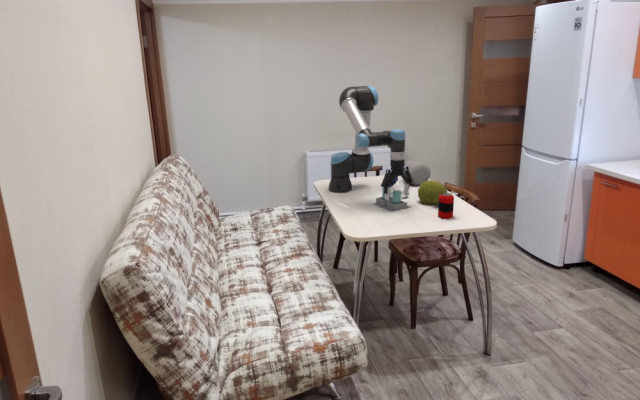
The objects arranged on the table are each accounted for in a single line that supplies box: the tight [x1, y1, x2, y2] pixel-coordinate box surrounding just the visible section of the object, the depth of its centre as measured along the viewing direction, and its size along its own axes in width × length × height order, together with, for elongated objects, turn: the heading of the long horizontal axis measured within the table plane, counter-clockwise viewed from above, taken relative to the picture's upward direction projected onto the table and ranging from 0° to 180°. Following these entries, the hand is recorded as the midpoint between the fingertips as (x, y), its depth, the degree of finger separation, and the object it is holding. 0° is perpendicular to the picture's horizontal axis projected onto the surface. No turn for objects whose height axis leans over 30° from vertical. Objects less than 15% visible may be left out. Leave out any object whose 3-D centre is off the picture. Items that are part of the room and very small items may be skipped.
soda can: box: [437, 192, 455, 220], centre depth 241 cm, size 8×8×12 cm
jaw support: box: [390, 182, 408, 200], centre depth 275 cm, size 12×9×10 cm
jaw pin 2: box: [393, 190, 402, 204], centre depth 256 cm, size 4×4×9 cm
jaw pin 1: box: [381, 187, 390, 201], centre depth 263 cm, size 4×4×9 cm
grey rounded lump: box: [403, 159, 431, 187], centre depth 310 cm, size 19×15×25 cm
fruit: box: [417, 179, 448, 206], centre depth 262 cm, size 16×14×15 cm
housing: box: [372, 196, 412, 213], centre depth 260 cm, size 18×14×4 cm
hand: (396, 197), depth 255 cm, fingers open, 13 cm apart
